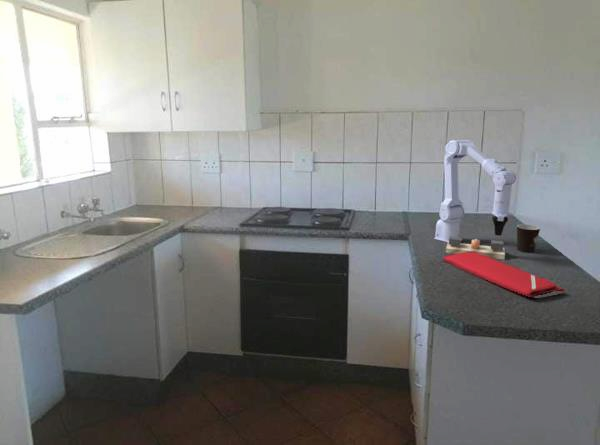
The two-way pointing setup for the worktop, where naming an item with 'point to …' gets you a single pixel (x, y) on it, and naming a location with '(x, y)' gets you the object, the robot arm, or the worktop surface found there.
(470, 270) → the dish drying mat
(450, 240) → the button
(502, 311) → the worktop surface
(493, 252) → the mount board
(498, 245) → the button
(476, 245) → the orange knob
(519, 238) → the coffee mug
